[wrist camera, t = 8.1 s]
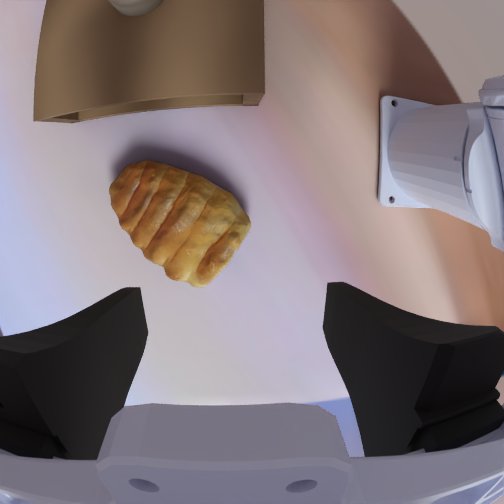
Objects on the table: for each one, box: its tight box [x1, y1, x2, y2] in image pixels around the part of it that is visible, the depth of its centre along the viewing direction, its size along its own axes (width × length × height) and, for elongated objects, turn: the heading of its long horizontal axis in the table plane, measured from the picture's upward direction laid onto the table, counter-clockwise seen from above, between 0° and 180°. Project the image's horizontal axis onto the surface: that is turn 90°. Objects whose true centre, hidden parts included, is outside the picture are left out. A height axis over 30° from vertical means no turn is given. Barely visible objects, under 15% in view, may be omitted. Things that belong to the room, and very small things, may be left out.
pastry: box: [109, 160, 251, 287], centre depth 19 cm, size 9×7×4 cm
